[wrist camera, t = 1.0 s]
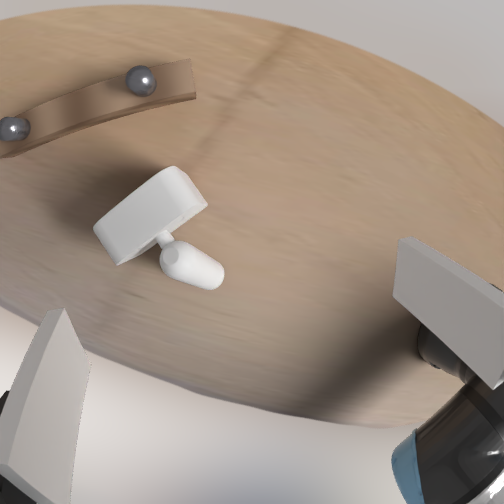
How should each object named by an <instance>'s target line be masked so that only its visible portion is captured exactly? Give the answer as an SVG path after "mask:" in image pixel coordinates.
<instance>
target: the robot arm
mask: <svg viewBox="0 0 504 504" xmlns="http://www.w3.org/2000/svg"><path fill="white" fill-rule="evenodd" d="M393 297H394V298H395V299H396V300H397V301H398V302H399V303H401V304H402V305H403V306H404V307H405V308H406V309H407V310H408V311H410V312H411V313H412V314H413V315H414V316H415V317H416V318H417V319H418V320H420V321H421V322H422V325H421V328H420V331H419V335H418V350H419V353H420V355H421V356H422V358H423V359H424V360H425V361H426V362H427V363H428V364H429V365H431V366H432V367H435V368H437V369H442V370H444V371H445V372H447V373H449V374H452V375H454V376H456V377H458V378H460V379H461V380H462V381H463V382H464V383H465V385H464V386H463V387H462V388H461V389H460V390H459V391H458V392H457V393H456V394H455V395H454V396H453V397H452V398H451V399H450V400H449V401H448V402H447V403H446V404H445V405H444V406H443V407H442V408H441V409H439V410H438V411H437V412H436V413H435V414H434V415H433V416H432V417H431V418H430V419H428V420H427V421H426V422H425V423H424V424H423V425H421V426H420V427H419V428H418V429H415V430H414V431H413V432H412V434H411V435H410V436H409V437H407V438H406V439H405V440H404V441H403V442H402V443H400V444H399V445H398V446H397V447H396V448H395V450H394V452H393V454H392V459H391V461H392V462H391V463H392V469H393V473H394V476H395V479H396V482H397V485H398V487H399V489H400V491H401V493H402V495H403V497H404V499H405V501H406V503H407V504H504V293H503V292H502V290H500V289H499V288H497V287H496V286H494V285H493V284H490V283H488V282H486V281H485V280H483V279H482V278H480V277H479V276H477V275H476V274H474V273H472V272H471V271H469V270H468V269H466V268H464V267H463V266H461V265H460V264H458V263H456V262H455V261H453V260H451V259H450V258H448V257H447V256H445V255H443V254H442V253H440V252H438V251H436V250H435V249H433V248H431V247H430V246H428V245H426V244H424V243H423V242H421V241H419V240H418V239H416V238H414V237H412V236H411V237H407V238H403V239H399V240H398V252H397V262H396V272H395V280H394V288H393ZM90 368H91V363H90V361H89V359H88V357H87V355H86V353H85V351H84V349H83V347H82V345H81V343H80V341H79V339H78V337H77V335H76V332H75V330H74V328H73V326H72V324H71V321H70V319H69V317H68V315H67V312H66V310H65V308H60V309H54V310H48V311H47V313H46V315H45V317H44V319H43V321H42V322H41V324H40V326H39V328H38V330H37V333H36V334H35V336H34V339H33V340H32V342H31V344H30V347H29V349H28V351H27V353H26V355H25V357H24V359H23V362H22V364H21V366H20V369H19V371H18V373H17V375H16V378H15V380H14V382H13V385H12V387H11V390H10V391H6V392H5V393H4V394H3V396H2V397H1V398H0V504H70V501H71V500H70V499H71V487H72V476H73V467H74V458H75V451H76V444H77V437H78V430H79V424H80V418H81V413H82V407H83V402H84V396H85V391H86V387H87V382H88V377H89V373H90Z"/></svg>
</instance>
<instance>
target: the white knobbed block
mask: <svg viewBox="0 0 504 504" xmlns="http://www.w3.org/2000/svg"><path fill="white" fill-rule="evenodd" d="M207 205H208V204H207V203H206V201H205V200H204V198H203V197H202V195H201V194H200V192H199V191H198V190H197V188H196V187H195V185H194V184H193V182H192V181H191V179H190V178H189V177H188V175H187V174H186V173H184V172H183V171H181V170H180V169H178V168H177V167H175V166H170V167H167V168H165V169H163V170H162V171H160V172H158V173H157V174H155V175H154V176H153V177H151V178H150V179H149V180H148V181H146V182H145V183H144V184H142V185H141V186H140V187H139V188H137V189H136V190H135V191H133V192H132V193H131V194H130V195H128V196H127V197H126V198H125V199H124V200H122V201H121V202H120V203H119V204H117V205H116V206H115V207H114V208H113V209H111V210H110V211H109V212H108V213H107V214H106V215H104V216H103V217H102V218H101V219H100V220H99V221H98V222H97V223H96V224H95V225H94V227H93V230H94V232H95V234H96V235H97V237H98V238H99V240H100V242H101V243H102V245H103V246H104V248H105V249H106V251H107V252H108V254H109V255H110V257H111V258H112V260H113V261H114V263H115V264H116V266H117V265H119V264H122V263H124V262H126V261H128V260H130V259H133V258H135V257H137V256H139V255H141V254H142V253H144V252H145V251H147V250H148V249H150V248H151V247H152V246H154V245H155V244H156V243H158V244H159V245H160V247H161V248H162V252H161V254H160V265H161V268H162V270H163V271H164V273H165V274H166V275H167V276H169V277H171V278H173V279H176V280H178V281H181V282H184V283H187V284H190V285H193V286H196V287H200V288H203V289H206V290H213V289H215V288H217V287H218V286H220V284H221V283H222V281H223V279H224V269H223V267H222V265H221V264H220V263H219V262H217V261H216V260H214V259H213V258H211V257H210V256H208V255H206V254H205V253H203V252H202V251H200V250H199V249H197V248H195V247H194V246H192V245H191V244H189V243H187V242H184V241H175V239H174V238H173V236H172V235H171V234H170V233H171V232H173V231H174V230H175V229H177V228H178V227H179V226H181V225H182V224H183V223H185V222H186V221H188V220H189V219H190V218H192V217H193V216H195V215H196V214H197V213H199V212H200V211H201V210H203V209H204V208H205V207H206V206H207Z"/></svg>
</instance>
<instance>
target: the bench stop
mask: <svg viewBox="0 0 504 504" xmlns="http://www.w3.org/2000/svg"><path fill="white" fill-rule="evenodd" d="M193 99H196V88H195V83H194V77H193V71H192V65H191V59H186V60H181V61H176V62H172V63H167V64H163V65H158V66H154V67H150V68H147V67H145V66H136V67H133V68H132V69H130V70H129V72H128V73H127V74H124V75H121V76H117V77H114V78H111V79H108V80H104V81H101V82H98V83H95V84H92V85H90V86H87V87H84V88H81V89H78V90H76V91H73V92H70V93H68V94H65V95H63V96H60V97H58V98H55V99H53V100H50V101H48V102H46V103H43V104H41V105H39V106H37V107H34V108H32V109H30V110H28V111H26V112H24V113H22V114H19V115H17V116H15V117H4V118H3V119H1V121H0V159H1V158H8V157H14V156H17V155H19V154H21V153H23V152H26V151H28V150H30V149H33V148H35V147H37V146H40V145H42V144H45V143H47V142H50V141H52V140H55V139H57V138H60V137H63V136H65V135H68V134H71V133H74V132H76V131H79V130H82V129H85V128H88V127H91V126H94V125H97V124H100V123H103V122H106V121H110V120H113V119H116V118H120V117H123V116H127V115H130V114H134V113H137V112H141V111H145V110H149V109H153V108H157V107H161V106H165V105H170V104H174V103H179V102H183V101H188V100H193Z"/></svg>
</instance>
